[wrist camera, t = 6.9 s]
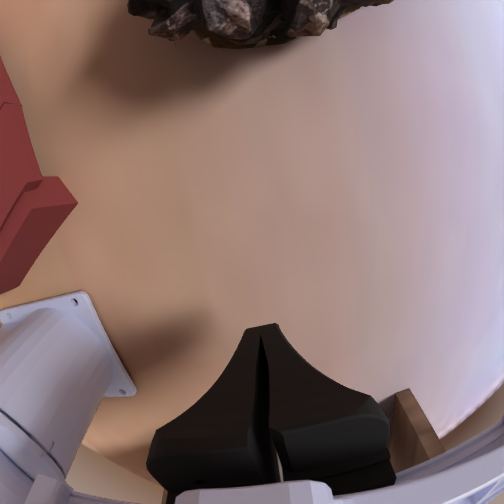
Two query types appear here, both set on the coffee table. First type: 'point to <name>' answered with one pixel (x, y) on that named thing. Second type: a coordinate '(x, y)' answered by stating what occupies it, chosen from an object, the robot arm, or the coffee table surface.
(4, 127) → the carton
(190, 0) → the pine cone
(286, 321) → the coffee table surface
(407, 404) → the walnut shelf
